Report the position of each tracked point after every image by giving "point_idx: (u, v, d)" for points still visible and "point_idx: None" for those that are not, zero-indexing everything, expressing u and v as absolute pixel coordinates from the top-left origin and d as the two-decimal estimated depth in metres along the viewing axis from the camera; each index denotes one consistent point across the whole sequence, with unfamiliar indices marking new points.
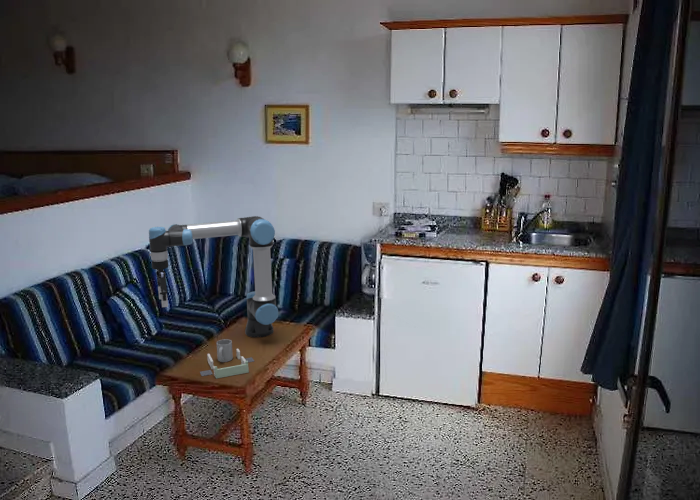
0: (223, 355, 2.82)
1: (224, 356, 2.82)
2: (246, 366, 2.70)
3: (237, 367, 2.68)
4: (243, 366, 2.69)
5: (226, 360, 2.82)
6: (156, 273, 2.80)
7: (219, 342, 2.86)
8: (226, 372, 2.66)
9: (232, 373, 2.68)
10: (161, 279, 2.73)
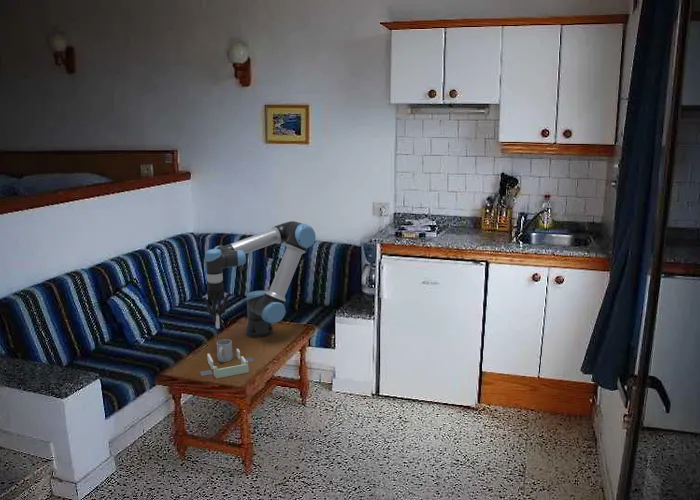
0: (223, 355, 2.82)
1: (224, 356, 2.82)
2: (246, 366, 2.70)
3: (237, 367, 2.68)
4: (243, 366, 2.69)
5: (226, 360, 2.82)
6: None
7: (219, 342, 2.86)
8: (226, 372, 2.66)
9: (232, 373, 2.68)
10: (205, 302, 2.86)
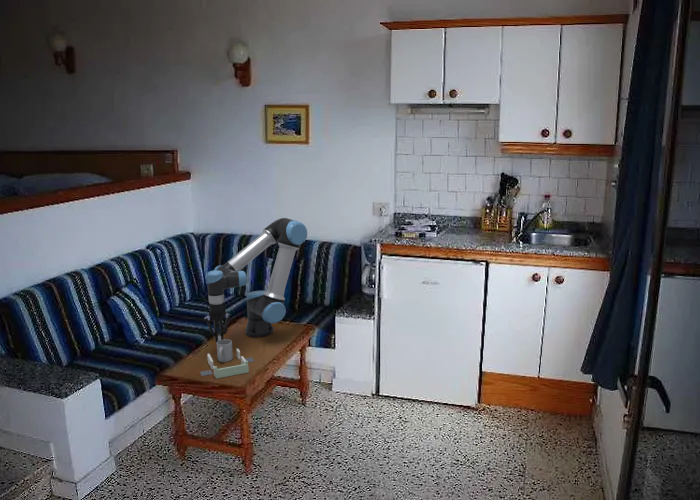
0: (223, 355, 2.82)
1: (224, 356, 2.82)
2: (246, 366, 2.70)
3: (237, 367, 2.68)
4: (243, 366, 2.69)
5: (226, 360, 2.82)
6: None
7: (219, 342, 2.86)
8: (226, 372, 2.66)
9: (232, 373, 2.68)
10: (207, 322, 2.88)
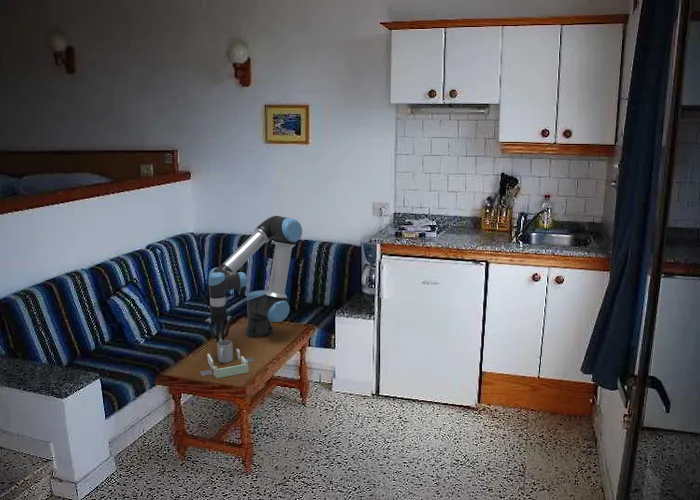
0: (224, 356, 2.80)
1: (225, 357, 2.81)
2: (246, 366, 2.70)
3: (237, 367, 2.68)
4: (243, 366, 2.69)
5: (227, 361, 2.81)
6: None
7: (219, 343, 2.85)
8: (226, 372, 2.66)
9: (232, 373, 2.68)
10: (208, 325, 2.84)
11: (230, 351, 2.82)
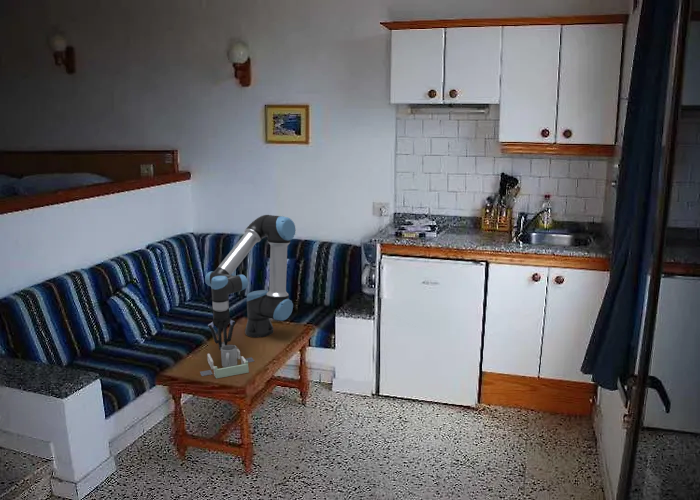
0: (229, 361, 2.75)
1: (230, 362, 2.75)
2: (246, 366, 2.70)
3: (237, 367, 2.68)
4: (243, 366, 2.69)
5: None
6: None
7: (222, 348, 2.78)
8: (226, 372, 2.66)
9: (232, 373, 2.68)
10: None
11: (235, 355, 2.76)
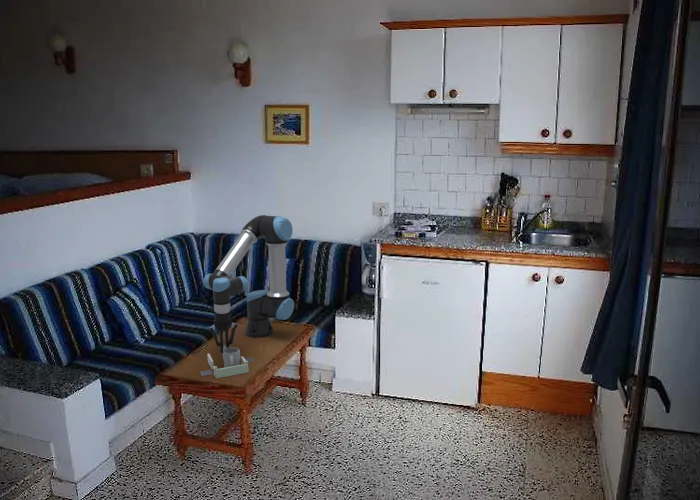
0: None
1: (234, 364, 2.72)
2: (246, 366, 2.70)
3: (237, 367, 2.68)
4: (243, 366, 2.69)
5: None
6: None
7: (224, 351, 2.75)
8: (226, 372, 2.66)
9: (232, 373, 2.68)
10: (212, 332, 2.74)
11: (238, 358, 2.74)
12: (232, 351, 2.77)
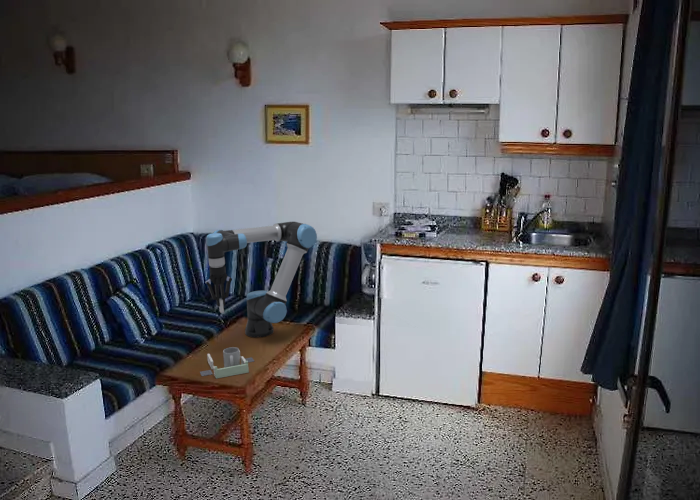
0: None
1: (234, 364, 2.72)
2: (246, 366, 2.70)
3: (237, 367, 2.68)
4: (243, 366, 2.69)
5: None
6: None
7: (224, 351, 2.75)
8: (226, 372, 2.66)
9: (232, 373, 2.68)
10: (208, 287, 2.84)
11: (238, 358, 2.74)
12: (232, 351, 2.77)
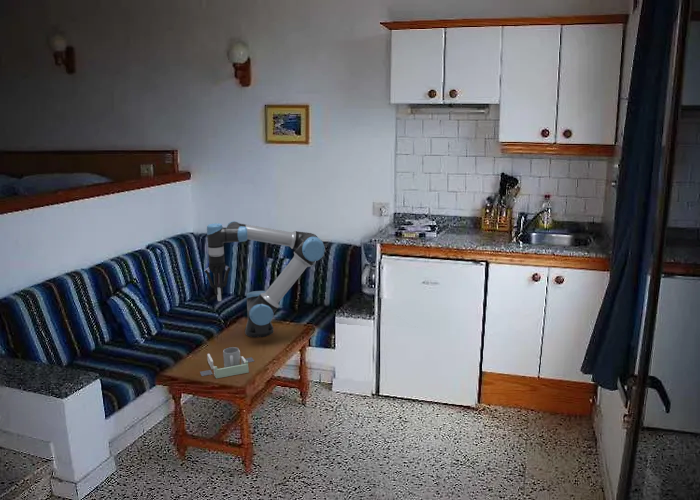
0: None
1: (234, 364, 2.72)
2: (246, 366, 2.70)
3: (237, 367, 2.68)
4: (243, 366, 2.69)
5: None
6: None
7: (224, 351, 2.75)
8: (226, 372, 2.66)
9: (232, 373, 2.68)
10: (207, 275, 2.93)
11: (238, 358, 2.74)
12: (232, 351, 2.77)
